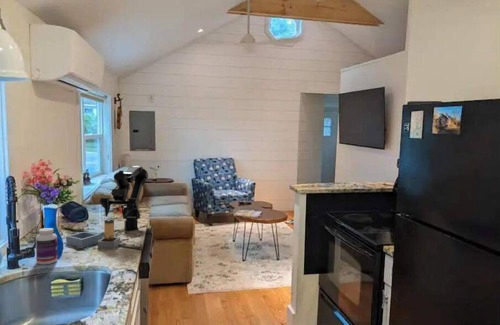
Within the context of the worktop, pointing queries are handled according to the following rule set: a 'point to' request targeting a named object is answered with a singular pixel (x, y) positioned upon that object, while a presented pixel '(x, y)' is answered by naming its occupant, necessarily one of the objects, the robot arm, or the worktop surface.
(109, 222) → the jumbo cell
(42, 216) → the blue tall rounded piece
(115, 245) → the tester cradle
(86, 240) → the bin
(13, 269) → the worktop surface
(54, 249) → the pill bottle
